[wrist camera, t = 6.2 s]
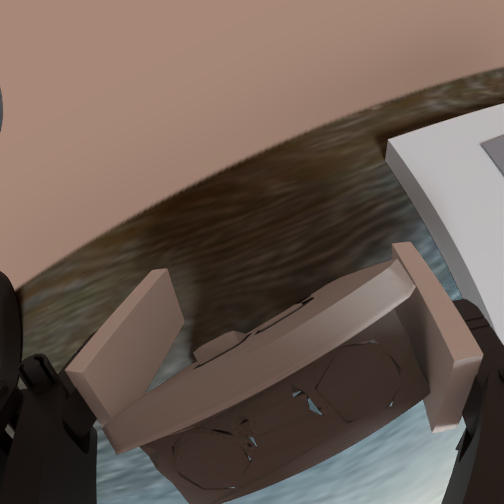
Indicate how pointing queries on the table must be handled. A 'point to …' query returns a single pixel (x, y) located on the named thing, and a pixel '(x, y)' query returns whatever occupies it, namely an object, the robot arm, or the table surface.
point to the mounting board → (461, 199)
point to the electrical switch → (281, 391)
